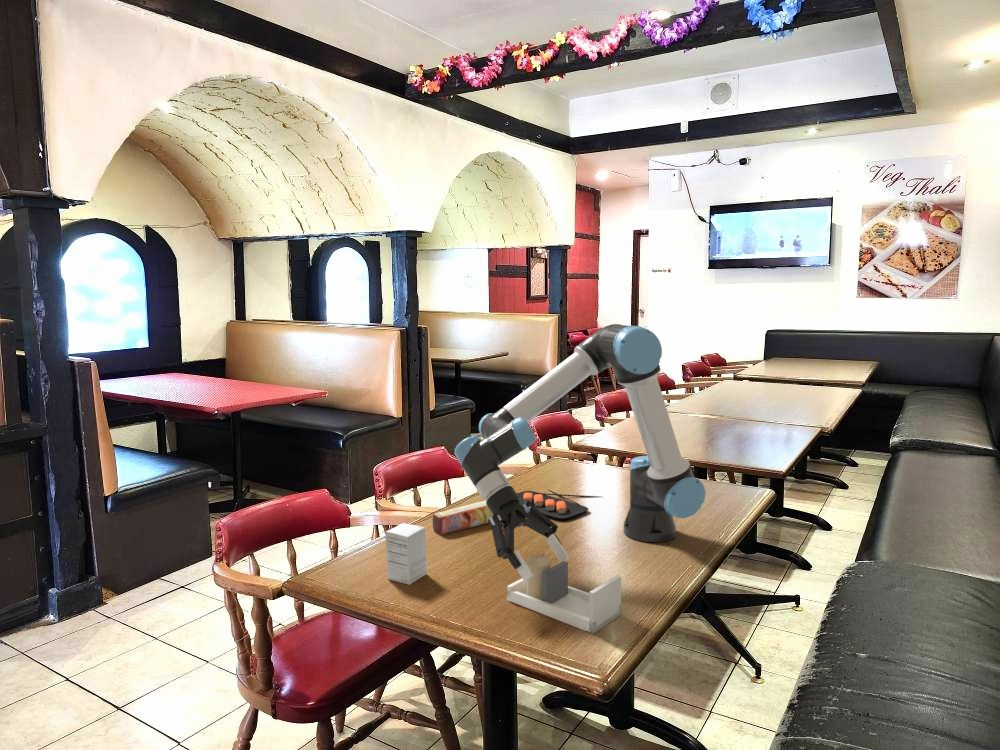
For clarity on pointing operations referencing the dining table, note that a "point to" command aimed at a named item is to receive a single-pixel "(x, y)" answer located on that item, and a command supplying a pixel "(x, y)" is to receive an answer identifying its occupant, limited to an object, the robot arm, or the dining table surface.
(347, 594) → the dining table surface
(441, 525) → the snack package
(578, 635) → the dining table surface
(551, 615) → the pusher lane
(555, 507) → the sushi plate
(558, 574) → the plate
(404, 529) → the supplement box
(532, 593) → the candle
